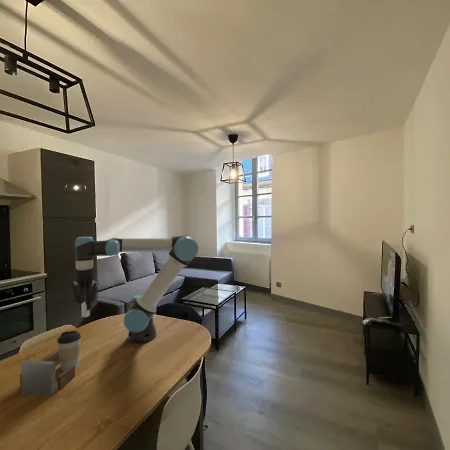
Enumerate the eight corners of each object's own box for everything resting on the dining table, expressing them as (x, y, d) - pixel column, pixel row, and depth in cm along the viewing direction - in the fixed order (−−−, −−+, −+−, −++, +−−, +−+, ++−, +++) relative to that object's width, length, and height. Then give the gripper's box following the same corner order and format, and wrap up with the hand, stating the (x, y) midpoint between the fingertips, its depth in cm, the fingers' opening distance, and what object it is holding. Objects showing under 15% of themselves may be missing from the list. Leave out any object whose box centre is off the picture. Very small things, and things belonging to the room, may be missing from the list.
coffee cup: (86, 362, 115) (85, 330, 115) (68, 374, 107) (67, 339, 106) (71, 359, 118) (70, 327, 118) (52, 370, 110) (52, 336, 109)
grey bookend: (55, 392, 96) (55, 361, 95) (51, 396, 94) (51, 364, 93) (26, 390, 97) (25, 360, 96) (21, 394, 95) (21, 363, 94)
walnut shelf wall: (89, 363, 115) (89, 350, 115) (59, 391, 96) (58, 376, 96) (57, 361, 116) (56, 348, 116) (20, 389, 97) (19, 374, 97)
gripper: (102, 267, 126) (103, 313, 126) (76, 266, 127) (77, 313, 127) (93, 270, 118) (94, 319, 119) (65, 269, 119) (66, 318, 120)
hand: (85, 316), depth 123 cm, fingers closed
